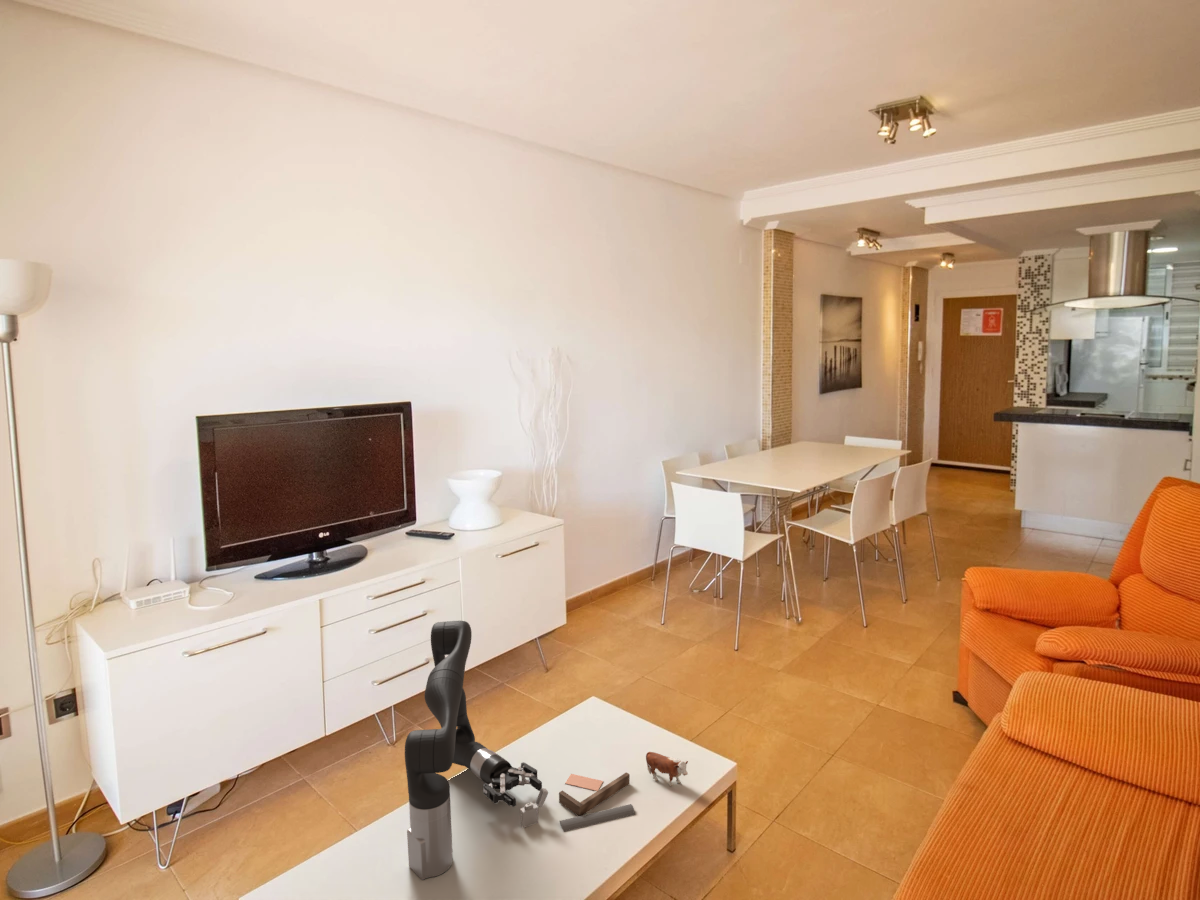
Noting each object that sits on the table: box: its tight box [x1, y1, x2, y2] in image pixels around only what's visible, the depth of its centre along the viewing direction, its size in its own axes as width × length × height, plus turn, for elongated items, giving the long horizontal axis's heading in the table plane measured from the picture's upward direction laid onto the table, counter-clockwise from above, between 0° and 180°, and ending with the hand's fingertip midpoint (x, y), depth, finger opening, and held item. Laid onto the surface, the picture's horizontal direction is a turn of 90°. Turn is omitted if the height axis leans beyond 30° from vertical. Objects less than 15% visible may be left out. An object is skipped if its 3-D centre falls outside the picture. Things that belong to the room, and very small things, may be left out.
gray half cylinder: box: [559, 803, 635, 833], centre depth 177 cm, size 4×20×2 cm, turn 109°
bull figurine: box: [645, 751, 689, 787], centre depth 191 cm, size 4×13×8 cm, turn 53°
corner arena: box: [558, 772, 630, 817], centre depth 186 cm, size 19×8×3 cm, turn 135°
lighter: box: [520, 787, 549, 828], centre depth 175 cm, size 7×2×8 cm, turn 120°
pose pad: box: [565, 773, 604, 792], centre depth 191 cm, size 4×10×1 cm, turn 70°
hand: (528, 795), depth 177 cm, fingers open, 8 cm apart
